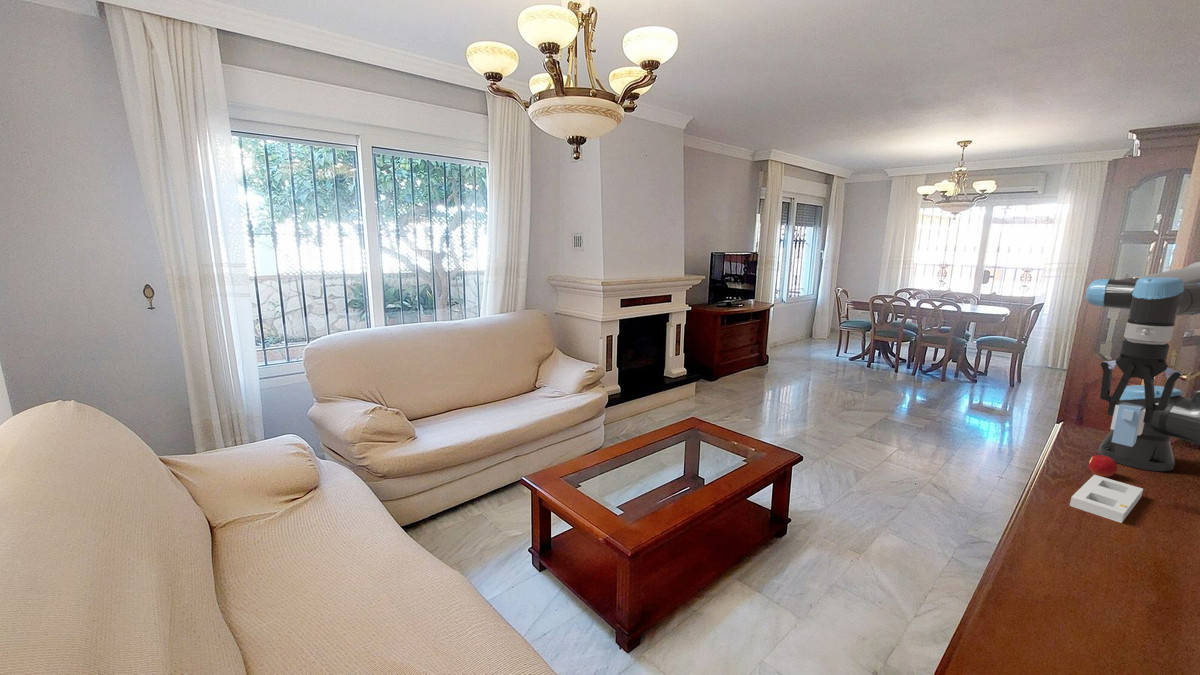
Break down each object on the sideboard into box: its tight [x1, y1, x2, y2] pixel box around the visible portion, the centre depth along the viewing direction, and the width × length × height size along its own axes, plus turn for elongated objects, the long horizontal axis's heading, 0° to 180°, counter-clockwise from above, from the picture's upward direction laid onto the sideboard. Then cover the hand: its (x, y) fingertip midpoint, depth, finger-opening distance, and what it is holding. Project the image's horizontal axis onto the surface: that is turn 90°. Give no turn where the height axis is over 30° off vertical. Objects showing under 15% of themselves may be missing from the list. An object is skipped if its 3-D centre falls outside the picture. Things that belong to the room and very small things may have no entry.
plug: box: [1111, 402, 1144, 447], centre depth 119 cm, size 4×4×10 cm
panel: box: [1069, 474, 1144, 524], centre depth 120 cm, size 20×9×3 cm, turn 123°
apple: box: [1088, 454, 1118, 478], centre depth 133 cm, size 8×8×6 cm
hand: (1126, 430), depth 119 cm, fingers closed on plug, 4 cm apart
